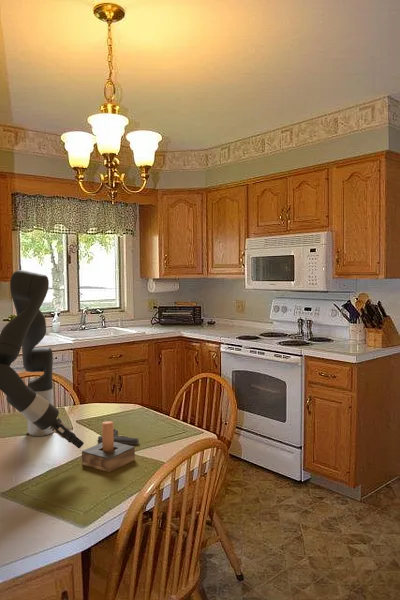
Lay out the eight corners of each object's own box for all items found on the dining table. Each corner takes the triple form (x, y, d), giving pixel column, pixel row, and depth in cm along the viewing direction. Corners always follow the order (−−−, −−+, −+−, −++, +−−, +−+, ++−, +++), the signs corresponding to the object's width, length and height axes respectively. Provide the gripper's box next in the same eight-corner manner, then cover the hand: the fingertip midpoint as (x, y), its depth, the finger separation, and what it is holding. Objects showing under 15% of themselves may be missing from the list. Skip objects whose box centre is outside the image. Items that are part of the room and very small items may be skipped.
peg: (100, 459, 159) (99, 423, 158) (108, 456, 162) (107, 420, 161) (108, 462, 157) (107, 425, 156) (116, 458, 160) (115, 422, 159)
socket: (82, 464, 157) (81, 451, 157) (108, 452, 167) (107, 440, 167) (109, 472, 151) (109, 458, 151) (134, 459, 161) (134, 446, 161)
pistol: (143, 436, 186) (137, 447, 174) (104, 435, 187) (95, 445, 175) (144, 429, 186) (137, 439, 174) (104, 427, 187) (95, 437, 175)
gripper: (53, 406, 142) (92, 438, 149) (42, 396, 154) (78, 426, 161) (35, 427, 140) (75, 458, 146) (25, 415, 152) (63, 444, 158)
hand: (77, 441), depth 153 cm, fingers open, 8 cm apart
